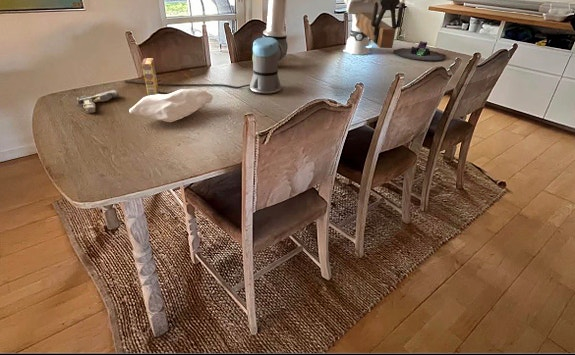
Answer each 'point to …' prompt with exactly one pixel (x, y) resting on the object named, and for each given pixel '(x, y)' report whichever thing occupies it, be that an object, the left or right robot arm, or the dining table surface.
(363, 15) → the bar
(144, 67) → the candy box
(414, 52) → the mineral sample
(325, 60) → the dining table surface
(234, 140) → the dining table surface
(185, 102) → the crumpled cloth
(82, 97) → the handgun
